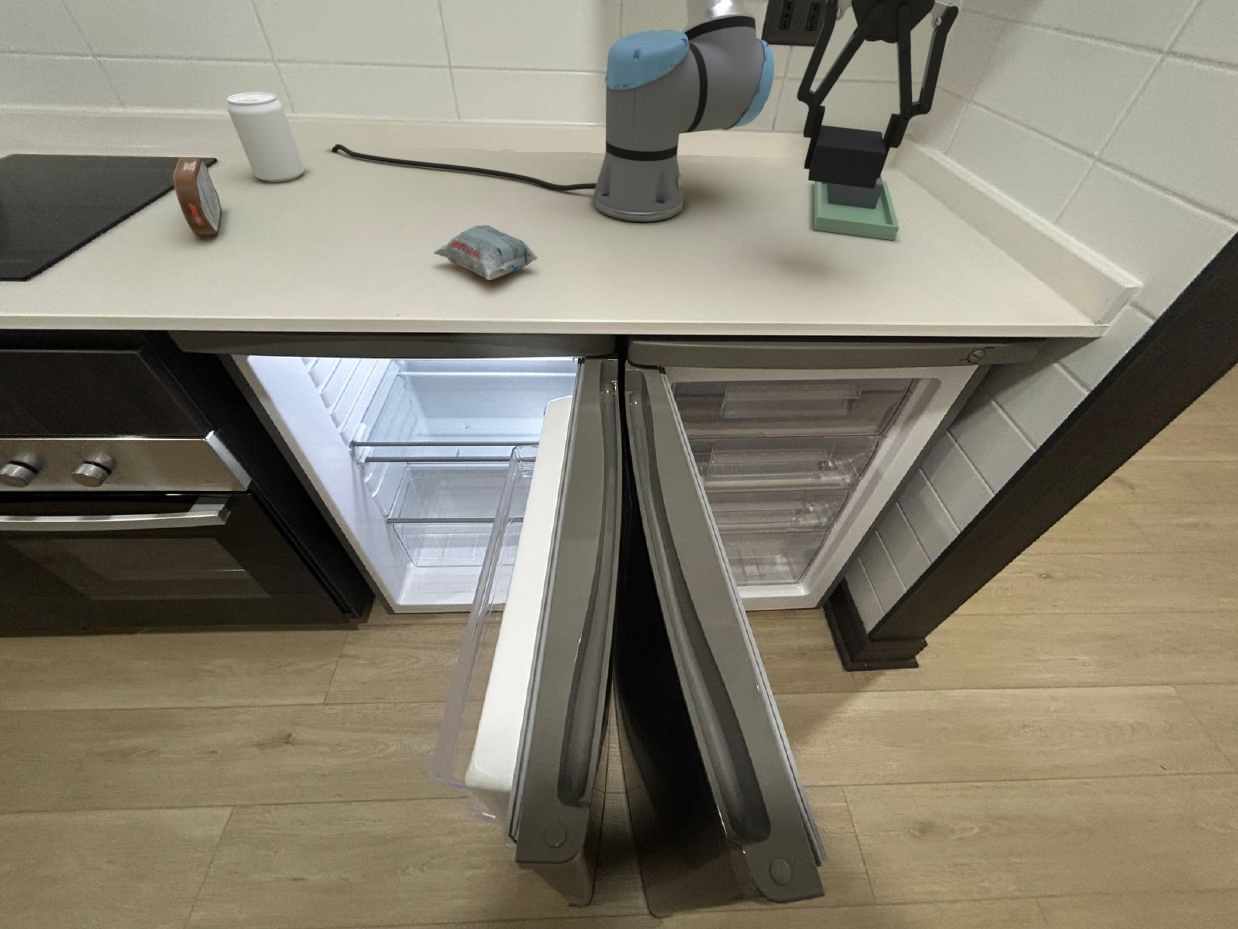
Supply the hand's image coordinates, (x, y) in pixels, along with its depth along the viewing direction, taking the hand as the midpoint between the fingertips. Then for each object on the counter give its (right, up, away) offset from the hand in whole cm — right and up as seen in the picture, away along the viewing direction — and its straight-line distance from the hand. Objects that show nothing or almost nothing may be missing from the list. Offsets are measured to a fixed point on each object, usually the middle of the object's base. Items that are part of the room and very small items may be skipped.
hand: (841, 169), depth 72 cm
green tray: (+12, +6, +25) cm, 28 cm away
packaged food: (-47, -11, +5) cm, 49 cm away
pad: (+13, +10, +28) cm, 33 cm away
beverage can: (-90, +13, +27) cm, 95 cm away
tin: (-91, -2, +12) cm, 92 cm away
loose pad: (0, 0, 0) cm, 0 cm away
